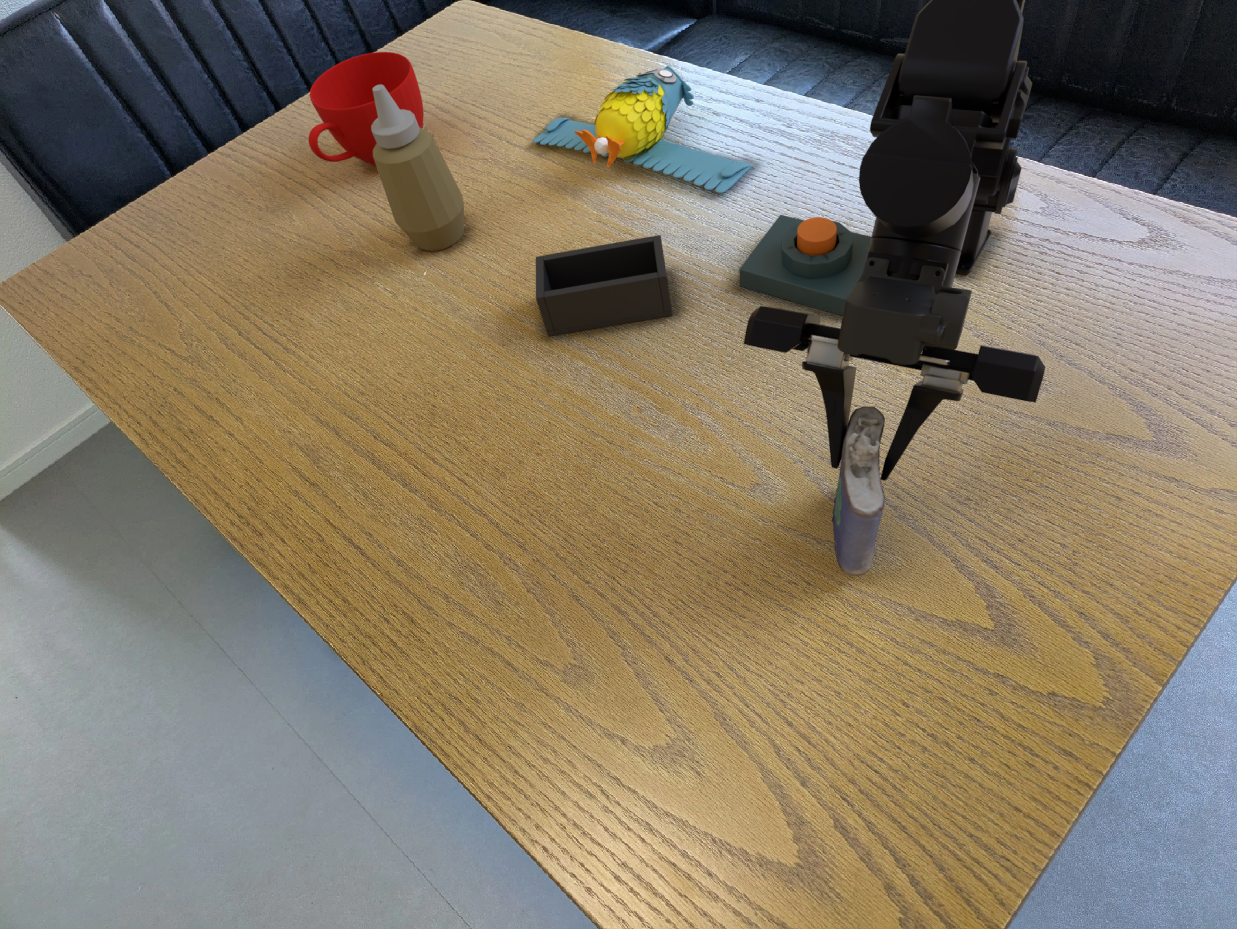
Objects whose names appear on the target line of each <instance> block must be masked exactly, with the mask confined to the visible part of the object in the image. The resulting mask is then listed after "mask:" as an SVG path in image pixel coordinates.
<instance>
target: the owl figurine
mask: <svg viewBox="0 0 1237 929" xmlns="http://www.w3.org/2000/svg"><path fill="white" fill-rule="evenodd" d="M691 91H692V87H691V86H690V85H689V84H688V83H687V82H686V81H685V80H684V79H683V78H682V77H681V76H680V75H679V73H677V72H676V71H675V69H673V68H672V67H671V66H670V65H666V66H665V67H664V68H653V69H650V70H646V71H645V72H643V73H642V72H639V73H638V74H636V76H635V77H628V78H625V79H623V82H621V83H620V84H618V85H617V86H614V87H613V89H611V92H609V93H608V94H607V95H606V96H605V97H604V99H603V100H604V101H603V102H602V103H601V105H600V107H599V109H598V112H597V113H596V115H595V118H594V122H593V124H591V123H586V122H581V121H576V120H571V118H569V117H557V118H554V119H552V120H551V121H549V123H548V124H547V125H546V126H545V130H543V131H542V132H541V133H539V134H538V135H537V136H536V137H534V138H533V139H532V143H534V144H540V145H541V146H546V145H548V146H555V145H556V147H559V148H563V147H565V149H567V150H569V149H574V151H582V150H583V153H585V154H589V153H590V154H591V160H592V163H593V165H595V164H596V162H597V158H598V155H601V157H603V158H606V157H608V159H607V164H606V168H607V169H609V168H610V167H611V166H612V164H613V163H614V162H615V160H617V159H623V162H625V163H631V162H632V164H633V165H634V166H641V165H642V167H643V168H644V169H651V168H652V171H653V172H656V173H659V172H661V171H662V173H663V174H664V175H666V176H667V175H668V176H669V175H672V176H673V178H675V179H681V178H682V177H683V181H685V182H692V181H693V180H694V181H693V184H694V185H695V186H699V187H700V186H703V185H704V186H703V187H704V190H707V191H712V190H714V191H715V192H716V193H719V194H724V193H725V192H727V191H728V190H729V189H730V188H732V187H733V186H734V185H735V184H736V183H737V182H738V181H739V180H740V179H741V178H742V176H744V175H745V174H746V173H747V172H749V170H751V169H752V168H753V165H752V164H750V163H748V162H746V161H743V160H732V159H729V158H726V157H723V156H719V155H715V154H711V153H709V152H705V151H702V150H699V149H698V150H697V149H695V148H691V147H689V146H685V145H682V144H678V143H675V142H672V141H668V140H665V139H663V138H664V135H665V132H667V130H668V127H669V124H670V122H671V120H672V119H673V117H674V115H675V113H676V111H677V109H678V108H679V105H680V104H681V101H682V100H683V101H684V104H685V105H686V106H687V107H692V106H693V105H694V101H693V99H694V98H695V95H694V94H693V93H691Z"/></svg>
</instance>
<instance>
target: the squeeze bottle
mask: <svg viewBox="0 0 1237 929" xmlns="http://www.w3.org/2000/svg"><path fill="white" fill-rule="evenodd" d="M373 94H374V99H375V104H376V109H377V114H378V118H377V119H376V120H375V121H374V122H373V124H372V126H371V131H372V133H373V136H374V138H375V140H376V142H377V144H376V146H375V147H374V149H373V158H374V160H375V163H376V166H377V167H376V169H377V172H378V176H379V178H380V181H381V184H382V188H383V191H384V193H385V196H386V199H387V202H388V205H389V208H390V211H391V214H392V217H393V220H394V222H395V224H396V225H397V226H398V228H400V230H401V231H402V232H404V234H405V235H406V236H408V237H409V239H410V240H411V241H412V242H413V243H414V244H415V245H416V246H417V247H418V248H419V249H421V250H424V251H428V252H429V251H432V252H433V251H440V250H443V249H447V248H448V247H450V246H452V245H454V244H455V243H457V242H458V241H459V240H460V239H461V238H462V236H463V233H464V231H465V204H464V203H465V202H464V196H463V194H462V192H461V190H460V188H459V186H458V184H457V182H456V180H455V178H454V176H453V174H452V172H451V170H450V168H449V166H448V164H447V162H446V160H445V158H444V156H443V154H442V152H441V150H440V148H439V146H438V144H437V143H436V141H435V139H434V136H433V134H432V133H431V132H430V131H429V130H428V129H426V128H420V127H419V126H418V123H417V120H416V118H415V115H414V114H413V113H412V112H411V111H408V110H404V109H403V110H400V109H399V107H398V106H397V104H396V103H395V102H394V100H393V99H392V97H391V96H390V94H389V93H388V91H387V90H386V88H385V87H384V85H376V86H375V87H373Z"/></svg>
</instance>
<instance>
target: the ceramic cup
mask: <svg viewBox="0 0 1237 929" xmlns="http://www.w3.org/2000/svg"><path fill="white" fill-rule="evenodd" d="M313 82H314V83H313V84H312V86H311V87H310V90H309V99H310V103H311V104H312V106H313V108H314V109H315V111H316V113H317V115H318V117H319V119H320V120H321V121H322V123H318V124H315V126H314V127H313V128H312V129H310V131H309V134H308V139H307V140H308V145H309V148H310V150H311V151H312V153H313V154H314V155H315V156H316V157H317V158H319V159H321V160H322V161H325V162H331V163H339V162H343V161H347V160H350V159H351V158H356V159H358V160H360V161H362V162H365V163H367V164H369V165H371V166H373V167H376V168H377V166H376V163H375V160H374V158H373V149H374V147H375V146H376V144H377V142H376V140H375V138H374V136H373V133H372V131H371V126H372V124H373V122H374V121H375V120H376V119H377V118H378V114H377V109H376V104H375V99H374V94H373V87H375V86H376V85H384V87H385V88H386V90H387V91H388V93H389V94H390V96H391V97H392V99H393V100H394V102H395V103H396V104H397V106H398V107H399V109H400V110H403V109H404V110H408V111H411V112H412V113H413V114H414V115H415V118H416V120H417V123H418V126H419V127H420V128H423V127H424V103H423V98H422V93H421V89H420V86H419V82H418V79H417V76H416V73H415V70H414V68H413V65H412V62H411V61H410V60H409V59H408V58H407V57H406V56H405V55H403V54H400V53H396V52H391V51H376V52H368V53H364V54H359V55H356V56H353V57H350V58H348V59H346V60H343V61H340V62H339V63H337V64H335V65H334V66H331V67H330V68H329V69H327V70H325V71H324V72H322V74H321V75H319V76H318V77H317V79H316V80H315V81H313ZM423 129H424V128H423ZM324 131H328V132H329V133H330V135H331V136H332V137H333V139H334V140H335V141H336V142H337V144H338V145H340V147H342V149H344V150H345V151H344V152H342V153H341V152H340V153H339V154H334V155H329V154H326V153H325V152H323V151H322V150H321V148H320V146H319V142H318V141H319V137H320V135H321V134H322V133H323V132H324Z"/></svg>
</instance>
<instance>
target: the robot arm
mask: <svg viewBox="0 0 1237 929" xmlns="http://www.w3.org/2000/svg"><path fill="white" fill-rule="evenodd" d="M1025 2H1026V0H929V1H928V2H927V3H926V4H925V5H924V6H923V7H922V8H921V9H920V10H919V12H918V13H916V16H915V18H914V22H913V25H912V28H911V32H910V35H909V39H908V42H907V46H906V48H905V52H904V53H897V55H896V56H895V58H894V60H893V62H892V65H891V68H890V70H889V73H888V76H887V79H886V81H885V84H884V87H883V89H882V92H881V94H880V97H879V100H878V102H877V104H876V107H875V110H874V113H873V115H872V118H871V120H870V124H869V125H870V126H869V132H870V134H871V135H872V137H873V138H874V140H873V141H872V142H871V143H870V145H869V146H868V148H867V150H866V151H865V153H864V155H863V156H862V159H861V162H860V166H859V171H858V172H859V173H858V184H859V191H860V195H861V197H862V199H863V201H864V204H865V205H866V207H867V208H868V209H869V210H870V212H871V213H872V215H874V216H875V220H874V224H873V228H872V231H871V232H872V233H871V240H870V245H869V249H868V253H867V258H866V262H865V266H864V270H863V274H862V275H861V277H860V279H859V280H858V282H857V284H856V285H855V286H854V288H853V289H852V290H851V292H850V293H849V295H848V296H847V297H846V299H845V305H844V311H843V316H842V317H841V322H840V327H835V326H829V325H823V324H820V323H821V315H818V314H813V313H807V312H801V311H795V310H790V309H784V308H780V307H774V306H765V305H760V306H758V307H757V308H755V310H753V311H752V312H751V313H750V316H749V318H748V320H747V323H746V328H745V334H744V337H743V338H744V339H743V343H742V344H743V345H745V346H750V347H754V348H758V349H764V350H769V351H775V352H780V353H783V354H787V353H789V352H791V351H792V350H794V351H800V352H804V351H806V357H805V360H804V361H802V362H801V369H802V370H803V371H807V372H811V373H813V374H814V375H815V378H816V381H817V383H818V385H819V389H820V392H821V395H822V399H823V400H822V401H823V404H824V409H825V416H826V425H827V434H828V436H827V437H828V445H829V446H828V447H829V457H830V466H831V468H833V469H836V470H837V469H838V468H840V465H841V458H842V449H843V443H844V442H843V441H844V438H845V434H846V430H847V426H848V423H849V419H850V416H851V409H852V408H851V407H852V400H853V395H854V394H853V393H854V388H855V381H856V374H857V367H856V366H851V365H850V362H852V361H853V360H854V359H855V358H856V359H861V360H865V361H870V362H876V363H881V364H886V365H890V366H891V365H892V366H897V367H902V368H907V369H910V370H911V369H912V370H916V371H920V374H919V376H922V380H921V379H920V380H918V382H916V383H915V384H913V386H912V390H911V391H910V395H909V397H908V400H907V402H906V406H905V409H904V410H903V413H902V416H901V419H900V421H899V423H898V425H897V429H896V431H895V433H894V436H893V438H892V441H891V443H890V446H889V449H888V451H887V454H886V456H885V458H884V462H883V466H882V470H881V473H880V479H881V481H884V482H886V481H887V480H888V478H889V477H890V475H891V474H892V472H893V470H894V469H895V467H896V465H898V462H899V461H900V459H901V458H902V456H903V455H904V454H905V452H906V450H907V448H909V445H910V443H911V442H912V440H913V439H914V437H915V435H916V434H917V432H918V431H919V429H920V428H921V426H922V425H923V424H924V423H925V422H926V421H927V419H928V418H929V417H930V416H931V415H932V414H933V412H934V411H935V410H936V409H937V407H938V406H939V405H940V404H941V403H942V402H943V401H945V400H948V401H952V402H960V401H961V400H962V397H963V394H964V389H963V386H964V385H968V381H972V382H973V383H975V385H976V386H977V387H978V389H979V391H980V392H981V393H984V394H988V395H994V396H998V397H1002V398H1008V399H1013V400H1018V401H1023V402H1029V403H1037V400H1038V396H1039V394H1040V389H1041V386H1042V383H1043V379H1044V375H1045V371H1046V366H1045V364H1044V362H1043V361H1042V359H1041V358H1040V357H1039V356H1038V355H1036V354H1033V353H1029V352H1023V351H1017V350H1012V349H1005V348H1000V347H995V346H989V345H983V344H980V346H979V349H978V353H974V352H969V351H964V350H959V349H957V348H958V345H959V343H960V339H961V337H962V333H963V331H964V330H963V329H964V325H965V322H966V318H967V314H968V310H969V306H970V301H971V297H972V292H973V290H971V289H966V288H959V287H953V284H954V280H955V277H956V274H961V275H969V274H971V272H972V271H973V269H974V267H975V265H976V263H977V261H979V258H980V256H981V254H982V252H983V251H984V249H985V247H986V245H987V244H988V242H989V240H990V238H991V236H992V231H991V230H990V229H989V227H990V223H991V218H992V215H993V213H994V214H996V215H1002V211H1003V209H1004V208H1006V206H1007V205H1010V204H1012V203H1014V200H1015V196H1016V193H1017V189H1018V185H1019V181H1020V177H1021V172H1022V166H1021V164H1020V163H1019V161H1018V159H1019V157H1018V156H1017V155H1018V148H1015V147H1010V146H1011V142H1012V139H1016V140H1017V139H1018V136H1019V135H1018V134H1019V132H1020V128H1021V126H1022V121H1023V118H1024V115H1025V111H1026V108H1027V105H1028V101H1029V98H1030V95H1031V90H1032V86H1033V82H1032V81H1031V79H1030V78H1029V76H1028V74H1029V70H1030V66H1027V65H1028V60H1018V58H1019V57H1018V56H1019V50H1020V44H1021V40H1022V39H1021V38H1022V34H1023V28H1024V19H1025V18H1024V15H1023V11H1024V7H1025Z"/></svg>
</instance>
